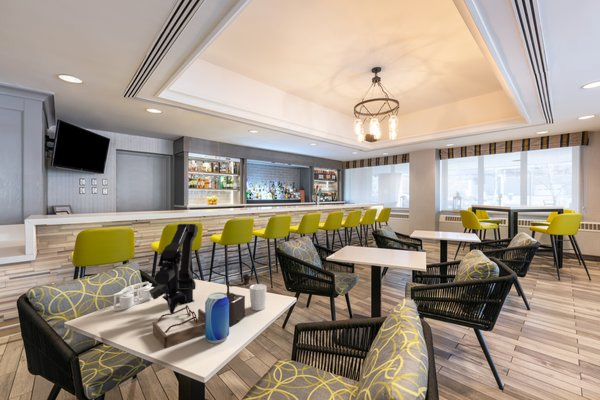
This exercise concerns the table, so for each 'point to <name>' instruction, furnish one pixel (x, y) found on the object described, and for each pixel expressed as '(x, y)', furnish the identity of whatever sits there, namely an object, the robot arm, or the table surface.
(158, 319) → the glasses
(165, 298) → the robot arm
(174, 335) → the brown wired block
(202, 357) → the table surface
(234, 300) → the coffee grinder
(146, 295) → the toilet paper holder
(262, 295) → the white cup
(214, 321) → the beer can
